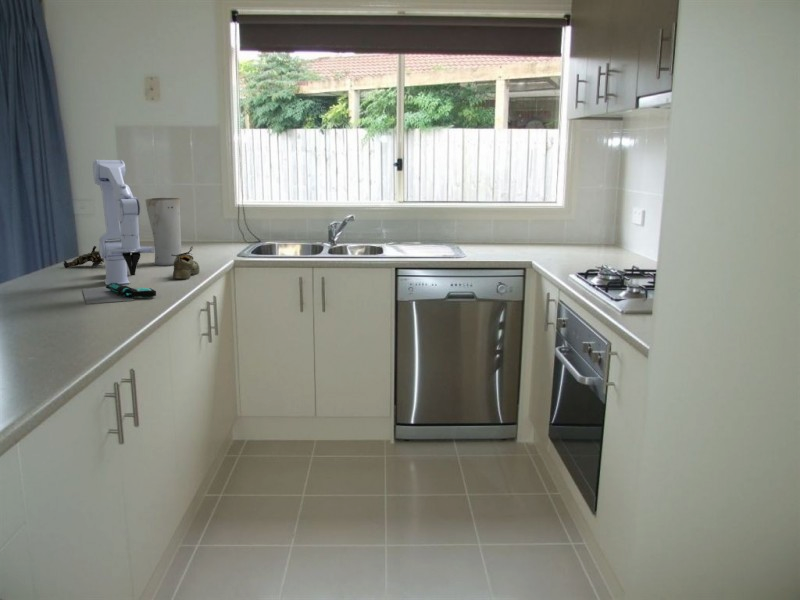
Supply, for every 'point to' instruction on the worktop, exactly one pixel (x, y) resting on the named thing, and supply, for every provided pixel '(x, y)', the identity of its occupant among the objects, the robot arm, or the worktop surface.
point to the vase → (165, 228)
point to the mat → (103, 296)
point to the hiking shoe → (185, 266)
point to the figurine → (86, 259)
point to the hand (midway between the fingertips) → (132, 274)
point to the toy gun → (131, 291)
